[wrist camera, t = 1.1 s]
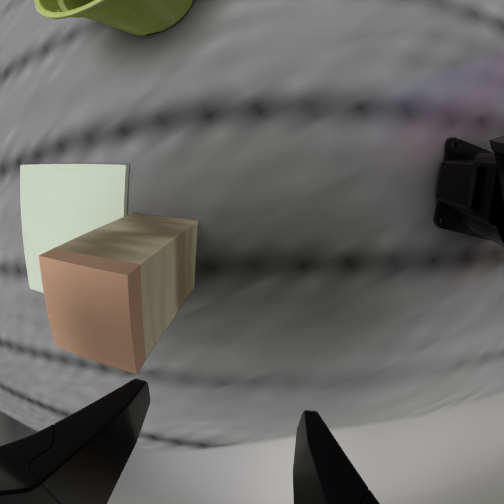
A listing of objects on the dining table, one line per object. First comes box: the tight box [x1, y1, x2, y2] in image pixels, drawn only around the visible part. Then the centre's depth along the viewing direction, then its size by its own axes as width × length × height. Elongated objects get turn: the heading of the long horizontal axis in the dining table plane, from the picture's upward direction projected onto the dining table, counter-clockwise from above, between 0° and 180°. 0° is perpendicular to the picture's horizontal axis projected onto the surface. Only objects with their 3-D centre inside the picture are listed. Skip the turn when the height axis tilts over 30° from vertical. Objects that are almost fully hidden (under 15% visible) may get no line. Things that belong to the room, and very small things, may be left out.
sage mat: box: [20, 164, 129, 293], centre depth 21 cm, size 12×12×1 cm
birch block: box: [39, 213, 198, 374], centre depth 16 cm, size 5×5×10 cm
